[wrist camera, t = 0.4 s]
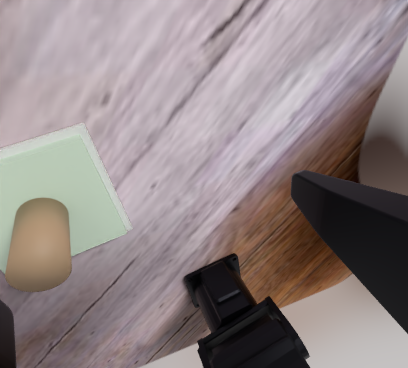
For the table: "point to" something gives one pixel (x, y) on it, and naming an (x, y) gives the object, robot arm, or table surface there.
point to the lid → (51, 213)
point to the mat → (92, 150)
